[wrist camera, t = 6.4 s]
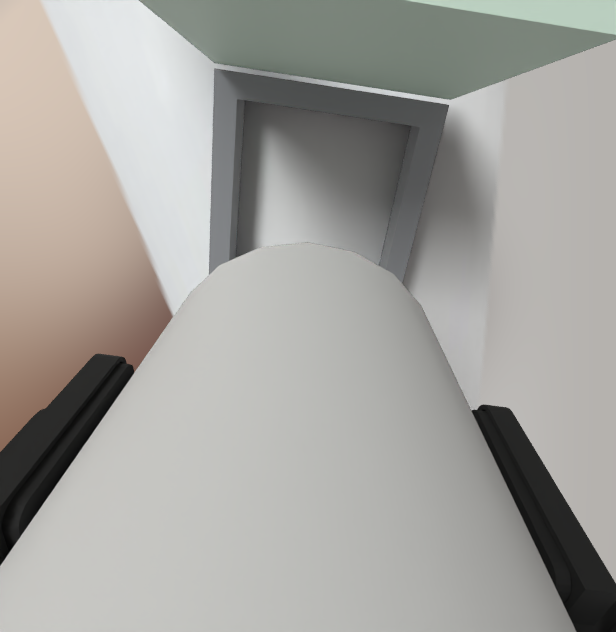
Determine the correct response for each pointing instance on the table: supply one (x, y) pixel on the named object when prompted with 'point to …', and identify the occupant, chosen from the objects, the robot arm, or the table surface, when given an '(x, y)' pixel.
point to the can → (285, 476)
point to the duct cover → (392, 38)
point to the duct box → (243, 86)
